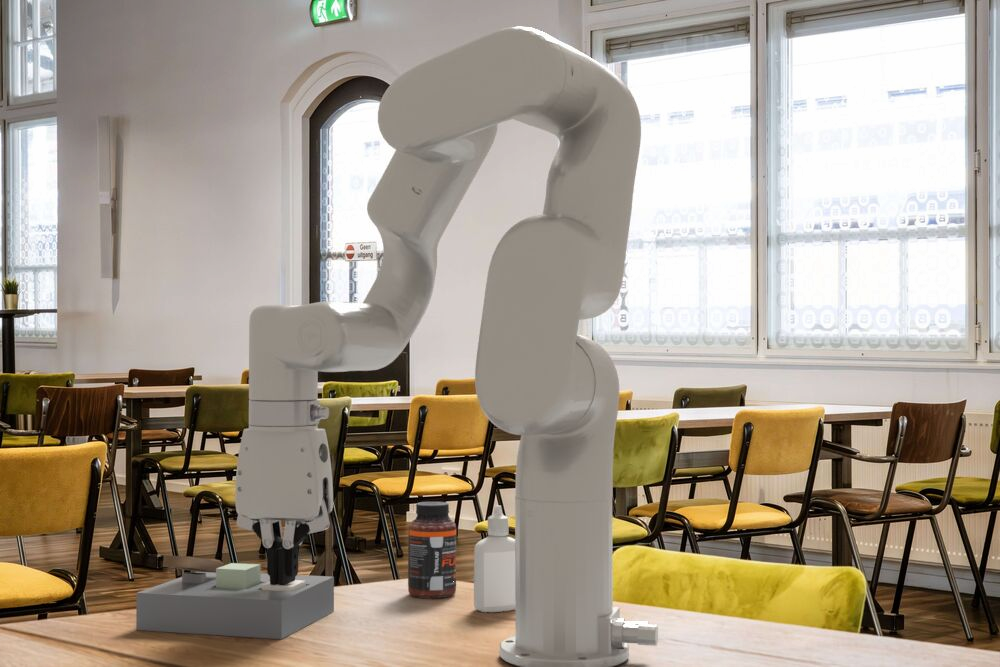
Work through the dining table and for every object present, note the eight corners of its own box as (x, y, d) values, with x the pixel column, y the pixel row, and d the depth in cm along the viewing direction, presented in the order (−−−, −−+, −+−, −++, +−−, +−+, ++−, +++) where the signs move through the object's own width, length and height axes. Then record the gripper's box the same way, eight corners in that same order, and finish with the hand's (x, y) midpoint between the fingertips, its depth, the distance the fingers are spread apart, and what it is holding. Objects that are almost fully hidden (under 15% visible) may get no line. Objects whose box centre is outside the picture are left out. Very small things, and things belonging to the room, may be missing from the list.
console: (333, 611, 140) (333, 567, 140) (281, 639, 127) (281, 591, 127) (200, 604, 145) (200, 561, 145) (136, 630, 131) (136, 583, 131)
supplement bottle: (449, 600, 146) (449, 506, 146) (402, 599, 147) (402, 505, 148) (461, 591, 152) (461, 500, 152) (415, 589, 153) (415, 499, 153)
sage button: (260, 592, 137) (260, 564, 137) (245, 599, 133) (245, 570, 133) (231, 591, 138) (231, 563, 138) (216, 597, 134) (216, 568, 134)
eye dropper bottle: (522, 613, 139) (522, 507, 139) (473, 613, 139) (473, 508, 139) (522, 605, 144) (521, 503, 144) (474, 605, 144) (474, 503, 144)
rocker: (222, 572, 140) (224, 560, 141) (188, 567, 133) (190, 554, 133) (197, 571, 141) (199, 559, 141) (162, 566, 134) (164, 553, 134)
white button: (305, 609, 135) (305, 580, 136) (292, 616, 132) (292, 586, 132) (276, 607, 136) (276, 579, 136) (261, 614, 133) (261, 585, 133)
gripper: (359, 416, 136) (358, 580, 136) (237, 414, 140) (236, 573, 140) (333, 419, 129) (332, 593, 129) (205, 417, 133) (204, 585, 133)
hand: (282, 582), depth 134 cm, fingers closed
